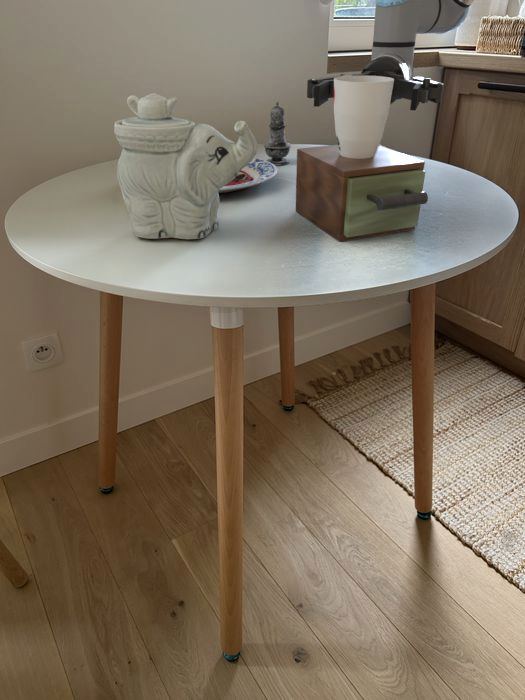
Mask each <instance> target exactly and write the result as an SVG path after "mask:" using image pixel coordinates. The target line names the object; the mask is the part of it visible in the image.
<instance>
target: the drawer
mask: <svg viewBox="0 0 525 700" xmlns="http://www.w3.org/2000/svg"><path fill="white" fill-rule="evenodd" d="M425 176H426V170H425V169H424V170H421V169H418V170H410V171H409V170H405V171H397V172H388V173H380V174H372V175H364V176H356V177H349V178H348V181H347V194H346V208H345V222H344V235H345V236H346V237H354V236H360V235H366V234H372V233H379V232H385V231H391V230H397V229H403V228H409V227H415V228H416V227H418V225H419V218H420V210H421V206H422V205H426V204H427V203H428V200H429V196H428V193H427V192H426V191H423V190H424V184H425V178H426V177H425Z"/></svg>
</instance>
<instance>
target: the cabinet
mask: <svg viewBox="0 0 525 700" xmlns="http://www.w3.org/2000/svg"><path fill="white" fill-rule="evenodd" d="M425 163H426V162H425V161H424V160H421V159H419V158H416V157H413V156H410V155H407V154H405V153H402V152H399V151H396V150H394V149H392V148H389V147H386V146H383V145H381V144H379V146H378V149H377V151H376V154H375V156H374V157H371V158H364V159H355V158H347V157H343V156H341V155H340V152H339V147H338V144H332V145H331V144H330V145H321V146H320V145H319V146H312V147H309V146H308V147H300V148H299V147H298V148H296V174H295V175H296V176H295V177H296V179H295V180H296V181H295V182H296V183H295V212H296V213H297V214H299V215H300V216H301V217H303V218H304V219H306V220H308V221H309V222H310V223H312V224H313V225H314V226H316V227H318V228H319V229H320V230H322V231H323V232H325V233H326V234H327V235H328V236H330V237H332V238H333V239H335V240H336V241H338V242H346V241H351V240H352V241H353V240H358V239H364V238H370V237H377V236H383V235H389V234H395V233H400V232H401V233H402V232H406V231H413V230H416V227H409V228H403V229H397V230H391V231H385V232H379V233H372V234H366V235H360V236H354V237H346V236H345V235H344V222H345V208H346V194H347V181H348V178H349V177H356V176H364V175H372V174H380V173H388V172H397V171H405V170H409V171H410V170H418V169H421V170H424V171H425V165H426V164H425Z"/></svg>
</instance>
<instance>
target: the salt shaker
mask: <svg viewBox="0 0 525 700" xmlns="http://www.w3.org/2000/svg"><path fill="white" fill-rule="evenodd" d="M275 104H276V105H275V106H273V107H272V108H271V109H270V124H268V127H269V133H270V134H269V141H267V142H266V143H264V144H263V147H264V151H265V153H266V155H267V156H268V158H267V159H266V160H265V161H268V162H270V163H272V164H274V165H275V166H276V167H277V166H285V165H289V164H290V163H291V162H290V160H289V159H287V158H286V157H287V156H288V155H289V153H290V151H291V147H292V144H291V143H289V142H287V140H286V135H285V134H286V127H287V125H286V124H285V109H284V107H282V106H280V103H279V101H278V100H277V101H276V103H275Z"/></svg>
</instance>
